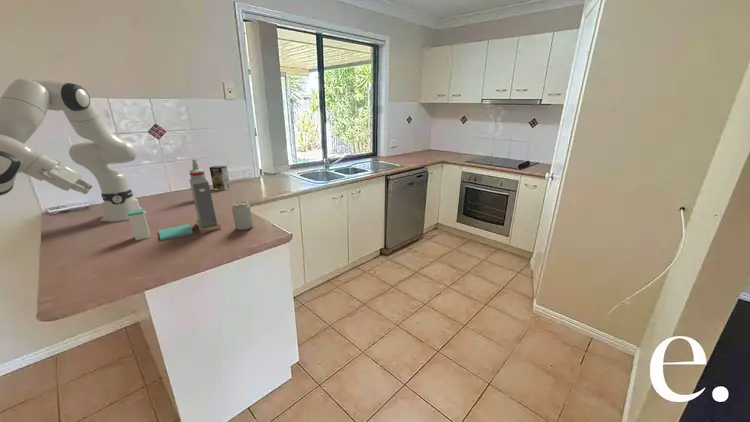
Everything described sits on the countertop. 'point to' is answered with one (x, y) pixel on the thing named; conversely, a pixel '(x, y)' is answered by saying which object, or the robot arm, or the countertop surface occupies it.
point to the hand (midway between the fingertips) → (89, 190)
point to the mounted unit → (204, 205)
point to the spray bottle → (196, 171)
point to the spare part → (139, 224)
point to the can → (242, 215)
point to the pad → (175, 232)
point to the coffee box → (220, 177)
